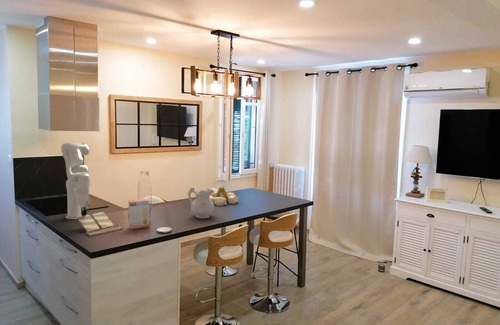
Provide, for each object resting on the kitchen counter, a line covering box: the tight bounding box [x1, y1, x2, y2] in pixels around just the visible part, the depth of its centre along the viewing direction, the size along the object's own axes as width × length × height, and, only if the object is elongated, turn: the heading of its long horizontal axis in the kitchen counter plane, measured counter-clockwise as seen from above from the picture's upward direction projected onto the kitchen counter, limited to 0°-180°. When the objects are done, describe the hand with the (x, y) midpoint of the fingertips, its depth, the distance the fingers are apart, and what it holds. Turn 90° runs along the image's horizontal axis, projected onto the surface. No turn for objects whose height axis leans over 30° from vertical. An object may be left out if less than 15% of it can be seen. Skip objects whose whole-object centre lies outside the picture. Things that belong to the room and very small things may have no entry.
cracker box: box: [128, 198, 150, 230], centre depth 274 cm, size 14×6×21 cm, turn 121°
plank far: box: [91, 211, 115, 229], centre depth 274 cm, size 18×9×1 cm, turn 50°
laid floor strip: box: [85, 224, 124, 237], centre depth 262 cm, size 7×24×2 cm, turn 140°
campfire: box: [209, 185, 239, 207], centre depth 367 cm, size 35×34×17 cm
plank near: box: [76, 214, 101, 232], centre depth 266 cm, size 18×9×1 cm, turn 50°
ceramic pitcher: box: [187, 187, 215, 219], centre depth 310 cm, size 22×20×25 cm
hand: (84, 215), depth 269 cm, fingers closed
